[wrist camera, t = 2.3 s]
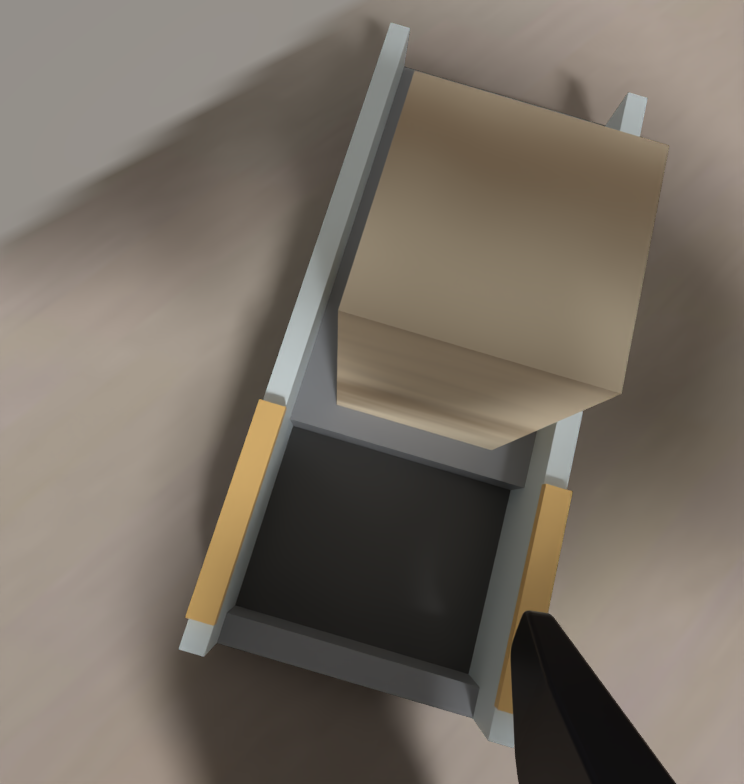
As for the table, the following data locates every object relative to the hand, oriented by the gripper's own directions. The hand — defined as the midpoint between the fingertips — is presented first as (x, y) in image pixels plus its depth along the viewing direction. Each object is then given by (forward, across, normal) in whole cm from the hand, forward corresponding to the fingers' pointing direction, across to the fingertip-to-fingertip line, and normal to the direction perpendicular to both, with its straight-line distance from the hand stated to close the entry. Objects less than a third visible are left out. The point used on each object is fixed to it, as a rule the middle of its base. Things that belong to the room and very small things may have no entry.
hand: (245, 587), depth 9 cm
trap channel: (+15, -4, +3) cm, 16 cm away
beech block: (+14, -4, +2) cm, 14 cm away
